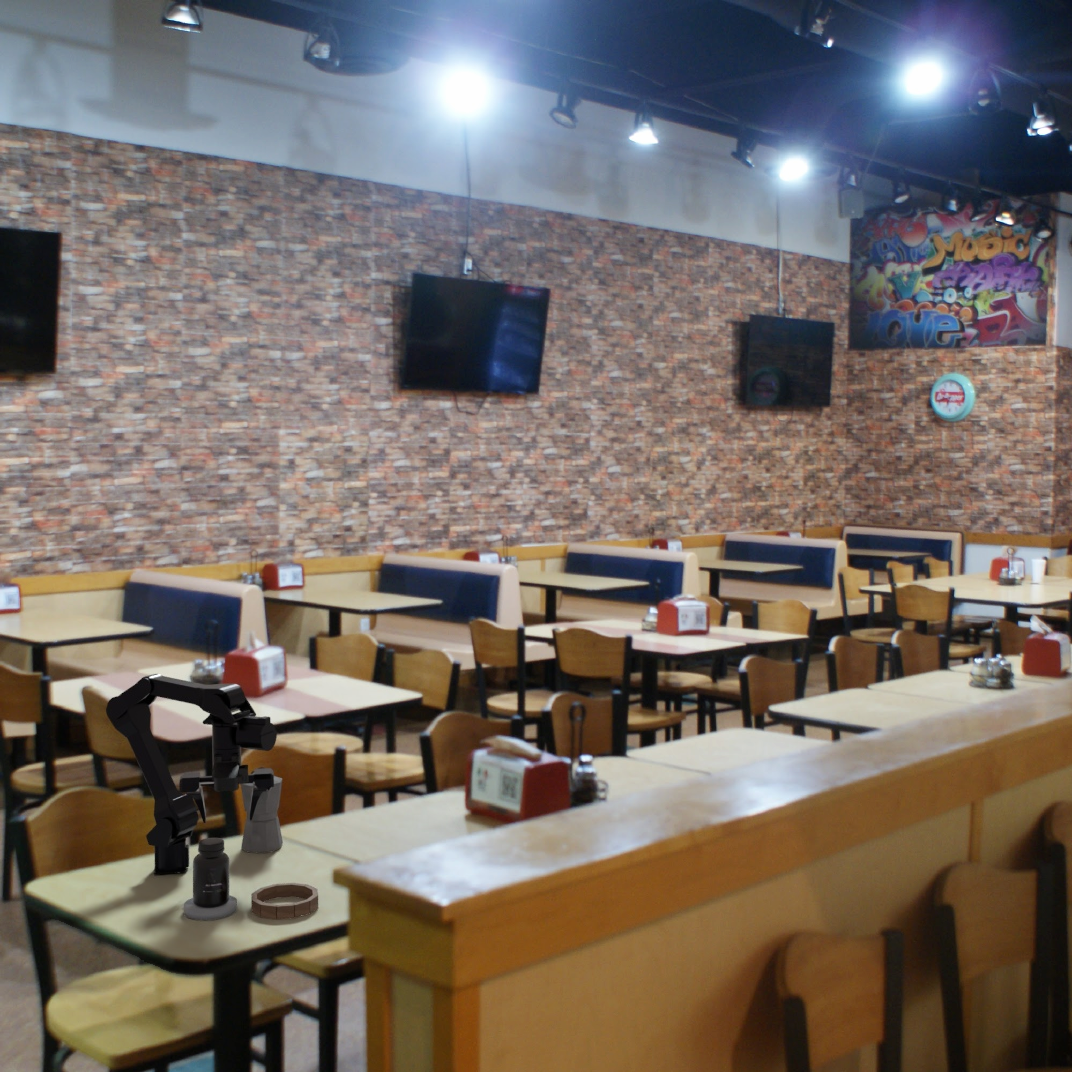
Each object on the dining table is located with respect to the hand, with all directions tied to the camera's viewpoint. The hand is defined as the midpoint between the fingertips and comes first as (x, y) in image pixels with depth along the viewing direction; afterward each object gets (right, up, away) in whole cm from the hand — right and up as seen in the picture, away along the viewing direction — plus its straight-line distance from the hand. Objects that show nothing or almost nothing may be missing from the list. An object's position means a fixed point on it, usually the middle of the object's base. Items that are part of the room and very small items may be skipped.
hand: (227, 821), depth 257 cm
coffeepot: (+2, -11, +22) cm, 25 cm away
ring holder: (+15, -13, -15) cm, 25 cm away
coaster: (+1, -13, -17) cm, 22 cm away
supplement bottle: (+1, -12, -17) cm, 21 cm away
